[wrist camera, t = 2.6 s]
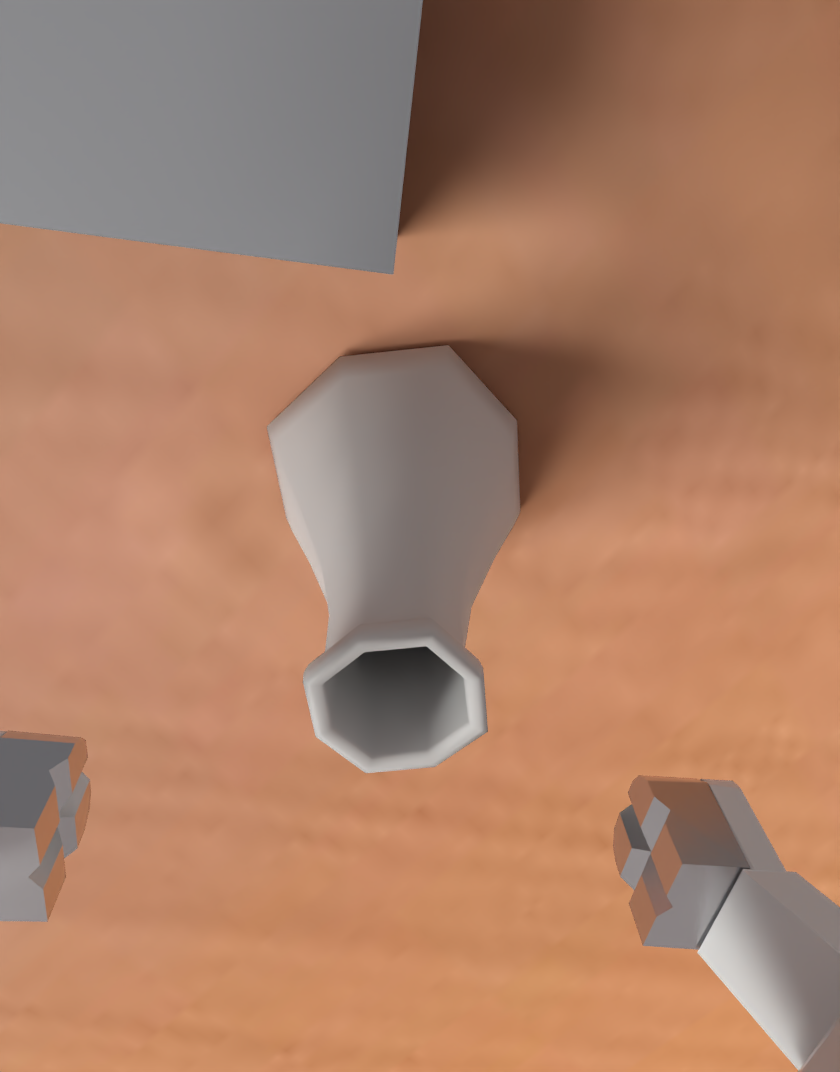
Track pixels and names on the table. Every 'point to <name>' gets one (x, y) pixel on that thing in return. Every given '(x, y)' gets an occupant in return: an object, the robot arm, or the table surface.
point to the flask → (398, 545)
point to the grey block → (211, 123)
